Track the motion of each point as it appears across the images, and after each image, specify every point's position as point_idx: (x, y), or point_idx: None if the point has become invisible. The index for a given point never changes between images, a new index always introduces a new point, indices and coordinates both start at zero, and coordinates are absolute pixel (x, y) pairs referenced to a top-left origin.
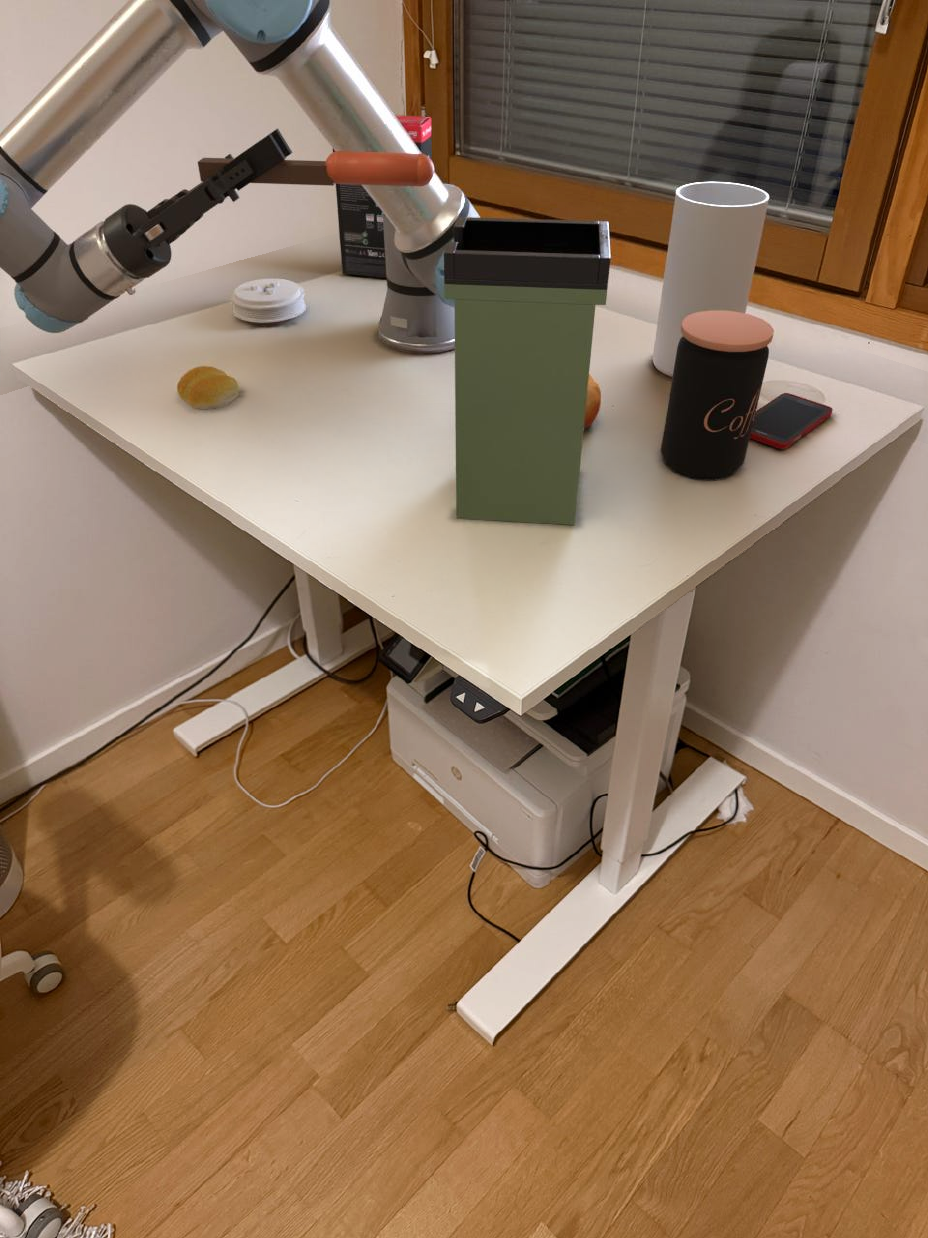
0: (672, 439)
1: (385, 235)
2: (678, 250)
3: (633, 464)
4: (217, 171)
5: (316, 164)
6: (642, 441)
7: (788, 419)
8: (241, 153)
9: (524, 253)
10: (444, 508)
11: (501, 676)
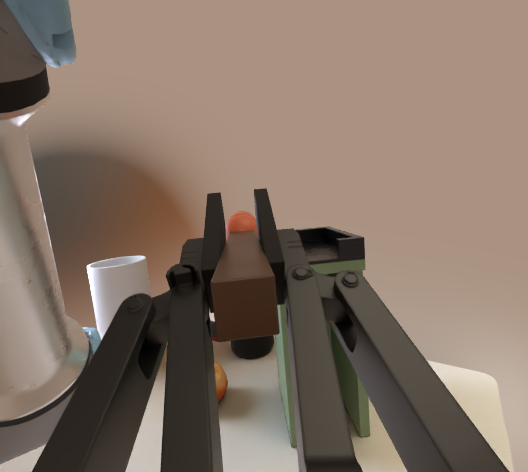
0: (264, 338)
1: None
2: (128, 293)
3: (261, 368)
4: (304, 268)
5: (250, 231)
6: (232, 367)
7: (212, 327)
8: (214, 246)
9: (340, 231)
10: (361, 447)
11: (493, 383)
